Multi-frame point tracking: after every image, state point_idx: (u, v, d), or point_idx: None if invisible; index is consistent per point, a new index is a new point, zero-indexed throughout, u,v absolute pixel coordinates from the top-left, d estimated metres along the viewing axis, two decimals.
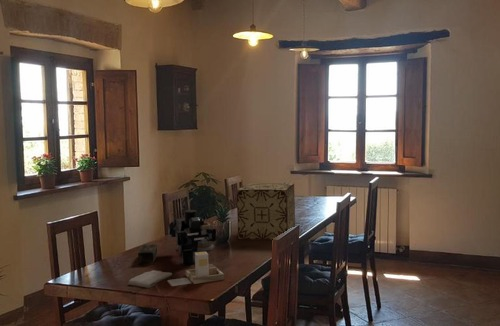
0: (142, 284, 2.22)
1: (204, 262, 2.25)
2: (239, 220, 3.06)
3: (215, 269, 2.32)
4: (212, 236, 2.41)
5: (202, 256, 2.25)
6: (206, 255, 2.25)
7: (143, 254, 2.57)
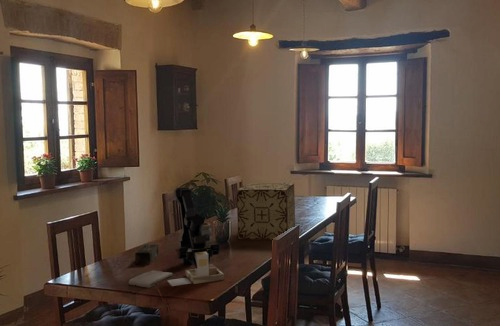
0: (142, 284, 2.22)
1: (204, 262, 2.25)
2: (239, 220, 3.06)
3: (215, 269, 2.32)
4: (211, 253, 2.32)
5: (202, 256, 2.25)
6: (206, 255, 2.25)
7: (140, 254, 2.57)
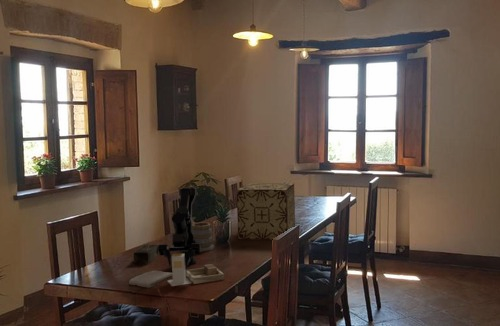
0: (142, 284, 2.22)
1: (179, 264, 2.23)
2: (239, 220, 3.06)
3: (215, 269, 2.32)
4: (193, 253, 2.28)
5: (177, 258, 2.23)
6: (181, 257, 2.23)
7: (138, 254, 2.57)
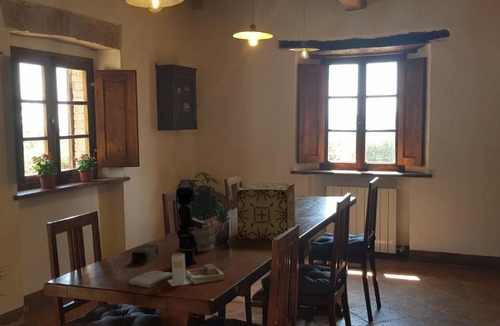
0: (142, 284, 2.22)
1: (179, 264, 2.23)
2: (239, 220, 3.06)
3: (215, 269, 2.32)
4: None
5: (177, 258, 2.23)
6: (181, 257, 2.23)
7: (136, 254, 2.58)
